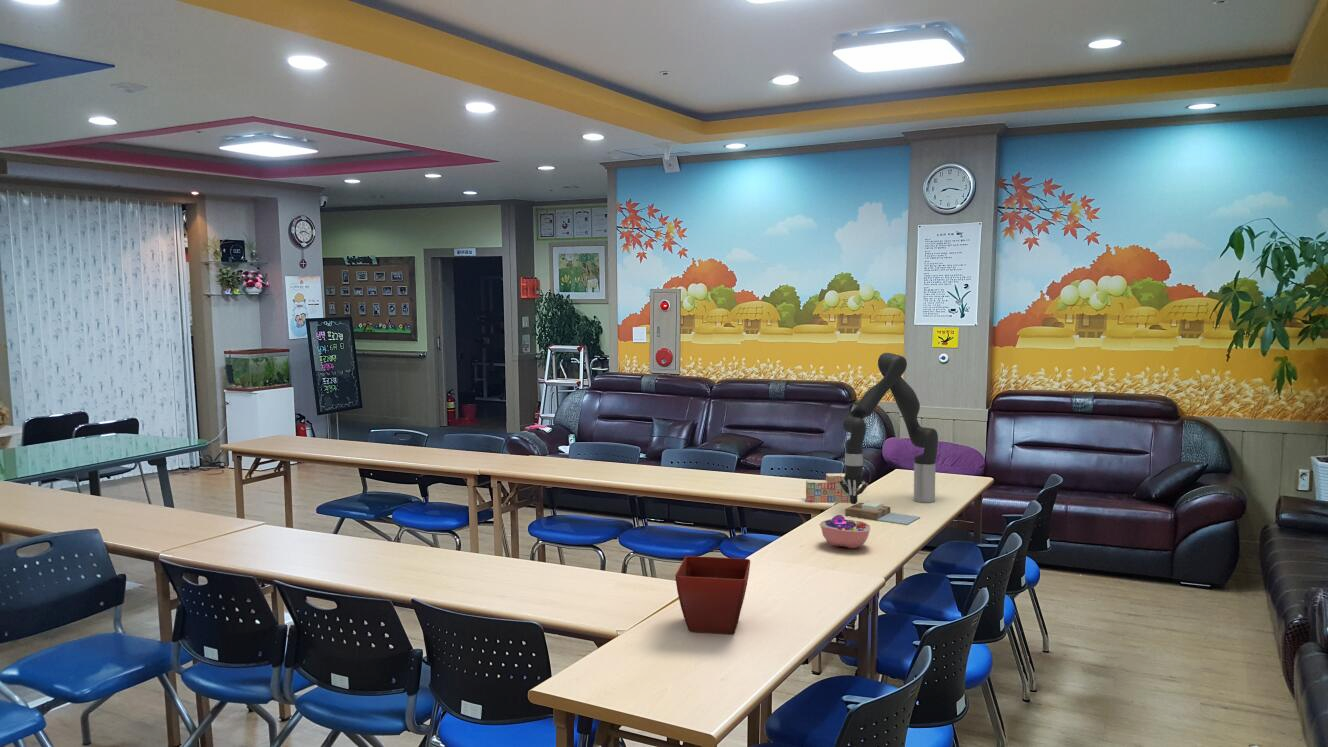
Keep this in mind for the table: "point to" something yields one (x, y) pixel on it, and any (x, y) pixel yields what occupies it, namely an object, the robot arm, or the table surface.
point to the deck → (866, 512)
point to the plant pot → (712, 592)
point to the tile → (872, 506)
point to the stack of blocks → (827, 490)
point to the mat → (898, 518)
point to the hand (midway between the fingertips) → (853, 503)
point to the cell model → (845, 532)
